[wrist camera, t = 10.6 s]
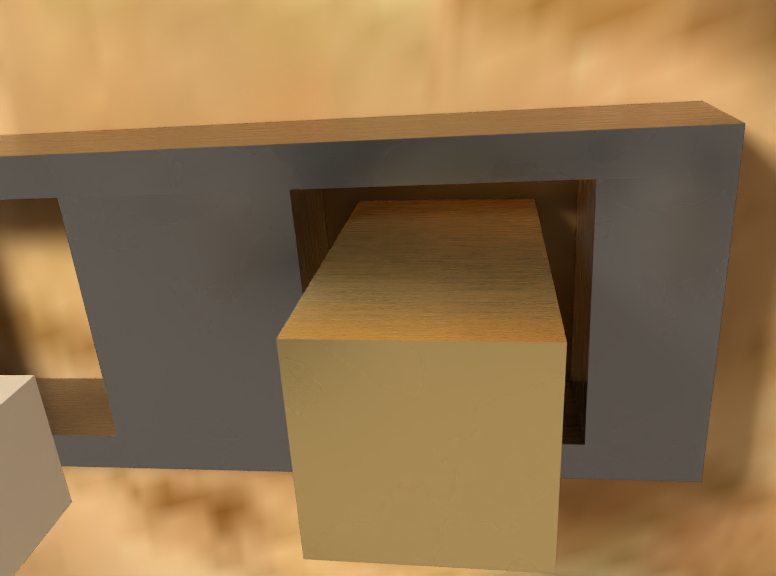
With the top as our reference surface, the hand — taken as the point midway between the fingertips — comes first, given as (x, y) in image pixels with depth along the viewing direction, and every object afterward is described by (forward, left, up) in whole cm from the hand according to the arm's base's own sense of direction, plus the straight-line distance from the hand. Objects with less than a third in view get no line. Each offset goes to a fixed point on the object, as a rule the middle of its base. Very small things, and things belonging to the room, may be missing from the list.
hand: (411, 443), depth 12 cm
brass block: (0, 0, -8) cm, 8 cm away
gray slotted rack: (-6, 0, -8) cm, 10 cm away
